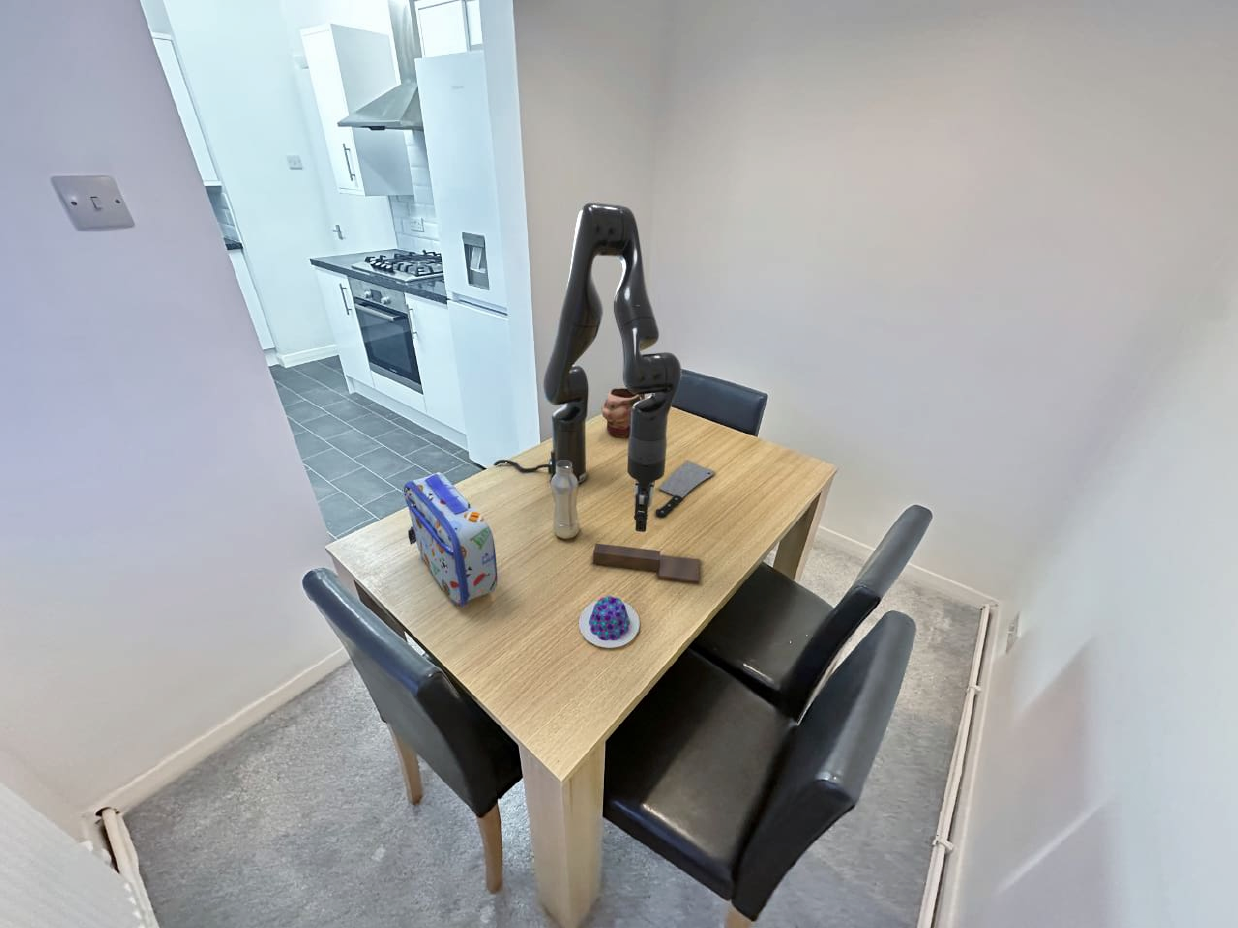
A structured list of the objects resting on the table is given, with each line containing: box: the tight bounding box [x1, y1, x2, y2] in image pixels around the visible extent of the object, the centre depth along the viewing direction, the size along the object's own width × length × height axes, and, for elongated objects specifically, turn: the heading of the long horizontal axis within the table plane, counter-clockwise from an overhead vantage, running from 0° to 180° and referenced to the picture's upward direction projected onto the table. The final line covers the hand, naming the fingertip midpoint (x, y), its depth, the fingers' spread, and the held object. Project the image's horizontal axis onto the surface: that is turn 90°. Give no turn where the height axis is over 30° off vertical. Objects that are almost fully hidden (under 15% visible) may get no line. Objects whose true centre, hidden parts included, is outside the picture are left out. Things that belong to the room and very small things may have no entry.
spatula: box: [592, 543, 700, 584], centre depth 111 cm, size 24×7×4 cm, turn 82°
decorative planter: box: [600, 387, 646, 438], centre depth 166 cm, size 20×12×14 cm, turn 143°
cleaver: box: [655, 460, 714, 518], centre depth 139 cm, size 29×1×10 cm
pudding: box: [578, 595, 641, 649], centre depth 96 cm, size 12×12×5 cm
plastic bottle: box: [550, 460, 581, 540], centre depth 116 cm, size 6×7×20 cm
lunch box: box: [403, 471, 498, 607], centre depth 103 cm, size 28×10×22 cm, turn 42°
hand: (642, 518), depth 105 cm, fingers open, 8 cm apart
